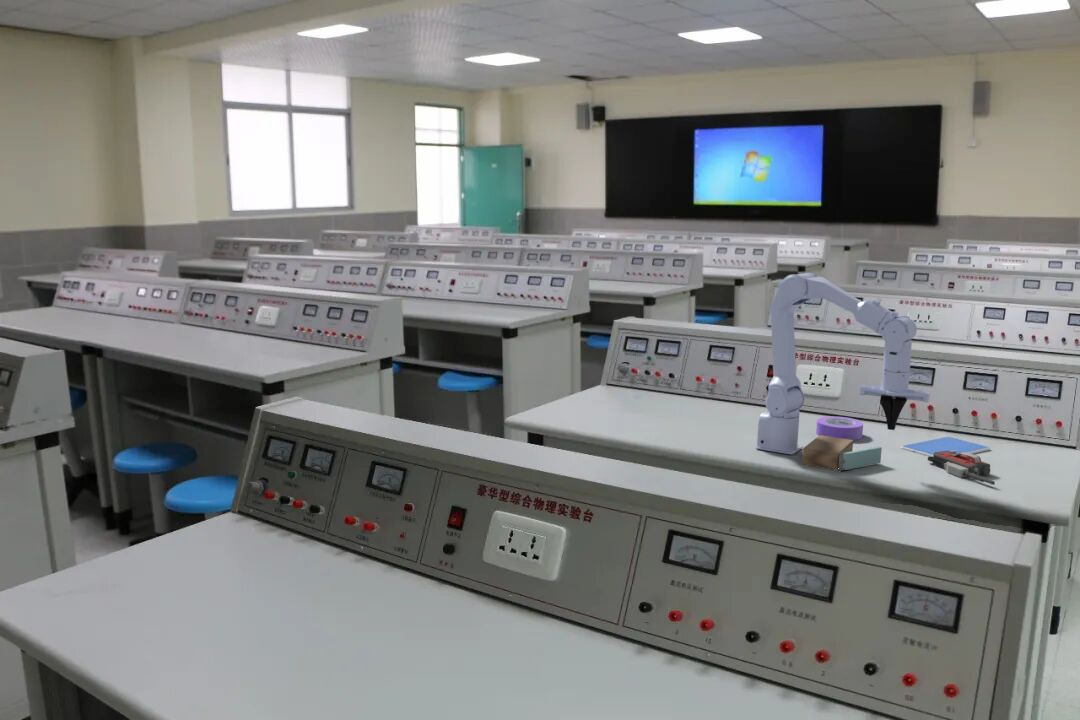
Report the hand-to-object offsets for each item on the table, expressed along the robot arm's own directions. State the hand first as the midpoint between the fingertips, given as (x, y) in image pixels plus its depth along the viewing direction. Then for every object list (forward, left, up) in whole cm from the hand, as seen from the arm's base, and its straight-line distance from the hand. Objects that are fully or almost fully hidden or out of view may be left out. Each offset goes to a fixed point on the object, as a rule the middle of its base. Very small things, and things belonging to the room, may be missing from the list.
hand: (891, 428), depth 201 cm
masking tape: (-18, +27, -10) cm, 34 cm away
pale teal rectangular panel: (-6, -1, -10) cm, 11 cm away
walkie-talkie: (+16, +8, -10) cm, 21 cm away
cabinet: (-14, +1, -10) cm, 17 cm away
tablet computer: (+8, +28, -11) cm, 31 cm away
